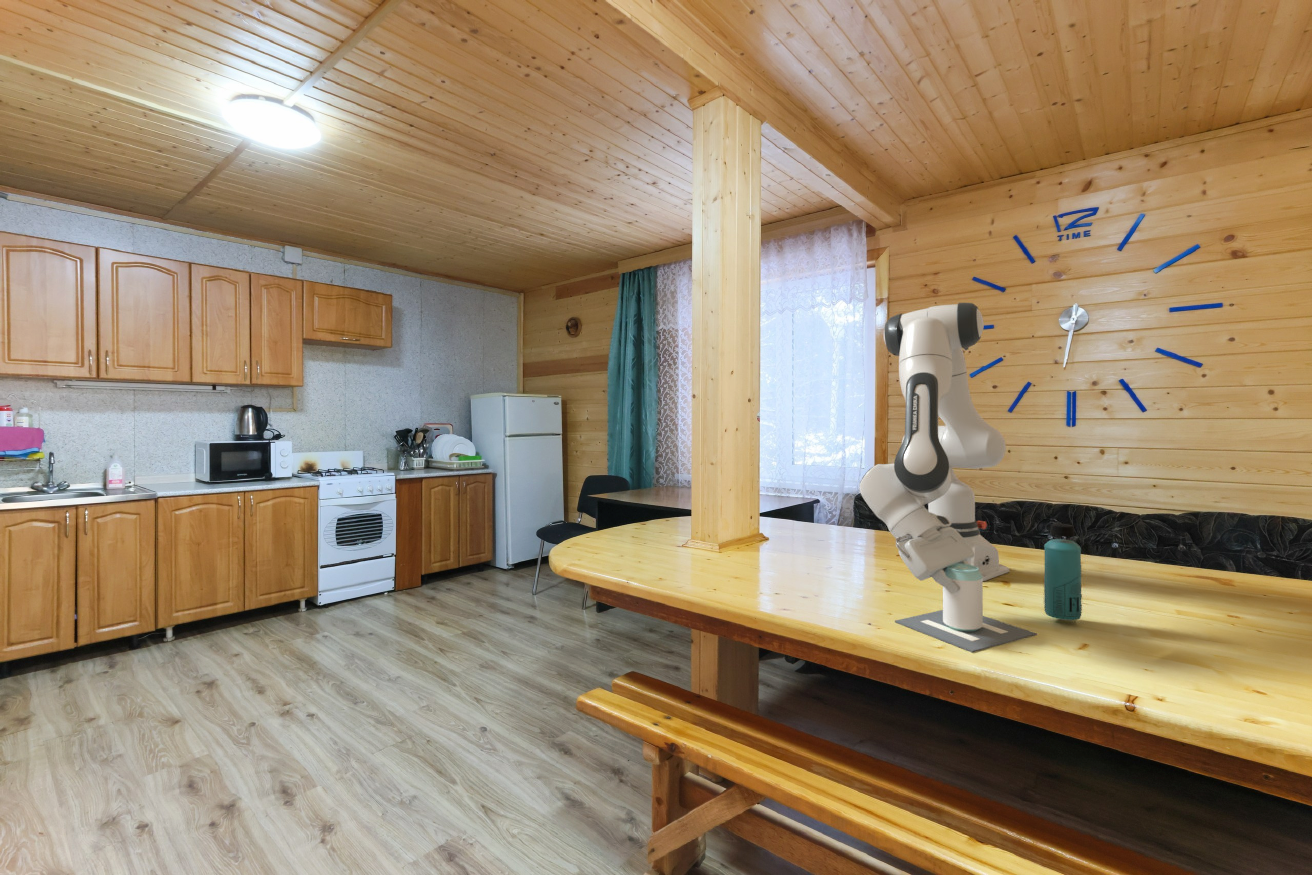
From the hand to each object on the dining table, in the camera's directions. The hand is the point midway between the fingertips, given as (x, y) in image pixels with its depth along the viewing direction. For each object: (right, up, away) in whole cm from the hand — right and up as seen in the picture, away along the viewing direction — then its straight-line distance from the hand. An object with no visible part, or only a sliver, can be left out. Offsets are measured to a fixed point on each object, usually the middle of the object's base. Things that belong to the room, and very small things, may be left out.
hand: (966, 587), depth 120 cm
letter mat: (0, -8, +1) cm, 8 cm away
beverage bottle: (+21, -8, +3) cm, 23 cm away
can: (0, -8, +1) cm, 8 cm away
